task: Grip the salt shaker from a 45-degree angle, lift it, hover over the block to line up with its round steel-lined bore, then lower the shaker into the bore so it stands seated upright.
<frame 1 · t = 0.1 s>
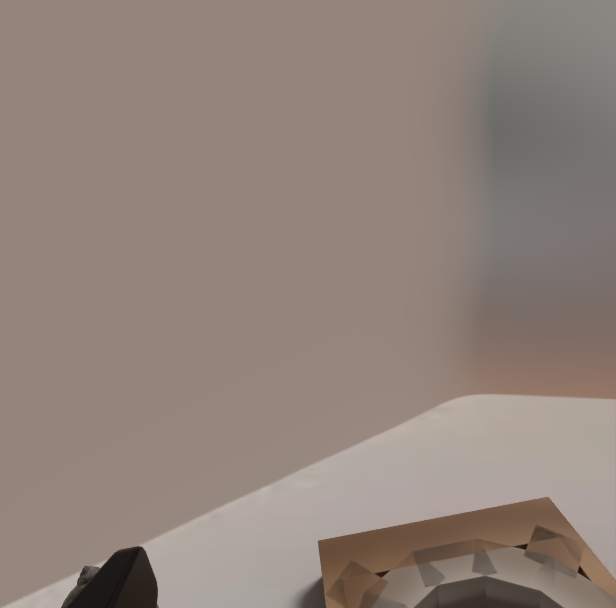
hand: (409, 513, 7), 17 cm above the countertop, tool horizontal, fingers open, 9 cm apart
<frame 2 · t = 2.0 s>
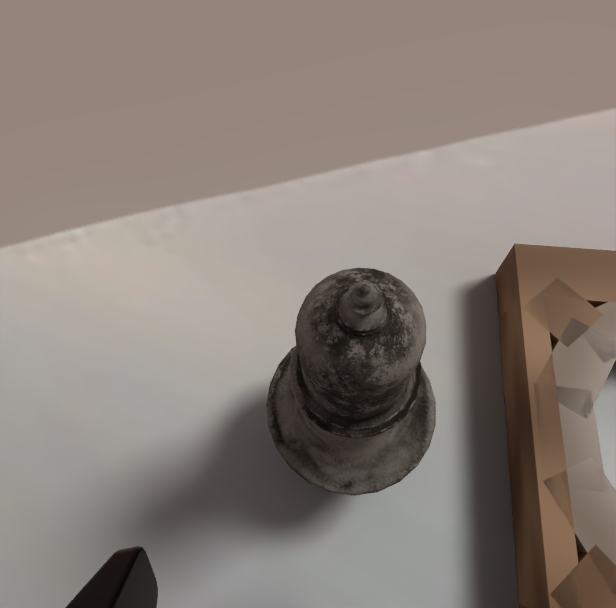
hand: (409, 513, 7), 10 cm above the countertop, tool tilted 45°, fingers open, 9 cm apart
salt shaker: (347, 424, 19), on the countertop
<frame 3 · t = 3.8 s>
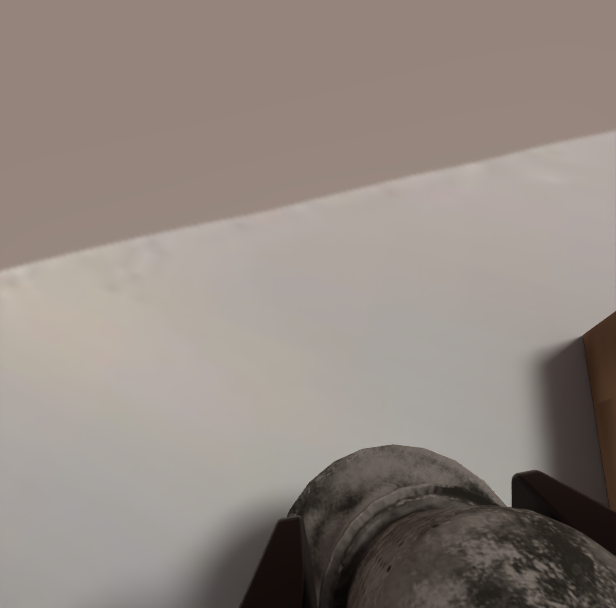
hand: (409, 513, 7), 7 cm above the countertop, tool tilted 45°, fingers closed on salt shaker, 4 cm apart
salt shaker: (386, 567, 13), on the countertop, touching gripper
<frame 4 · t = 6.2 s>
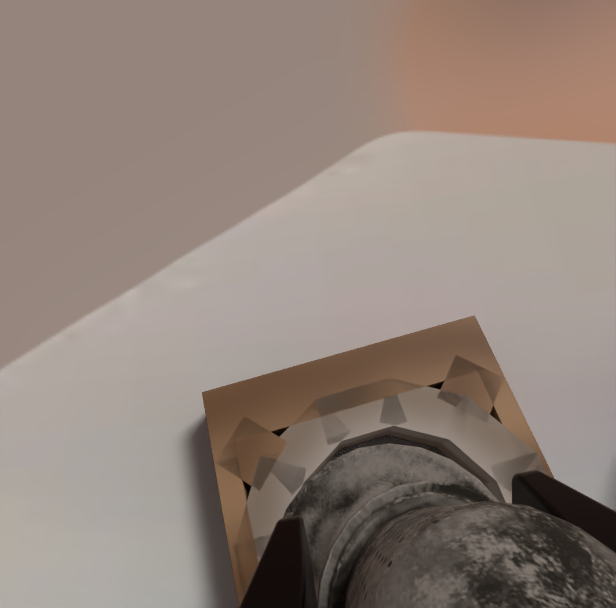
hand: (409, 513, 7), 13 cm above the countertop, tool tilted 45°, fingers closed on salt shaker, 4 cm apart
bore block: (395, 541, 19), on the countertop
salt shaker: (381, 565, 13), point 6 cm above the countertop, touching gripper
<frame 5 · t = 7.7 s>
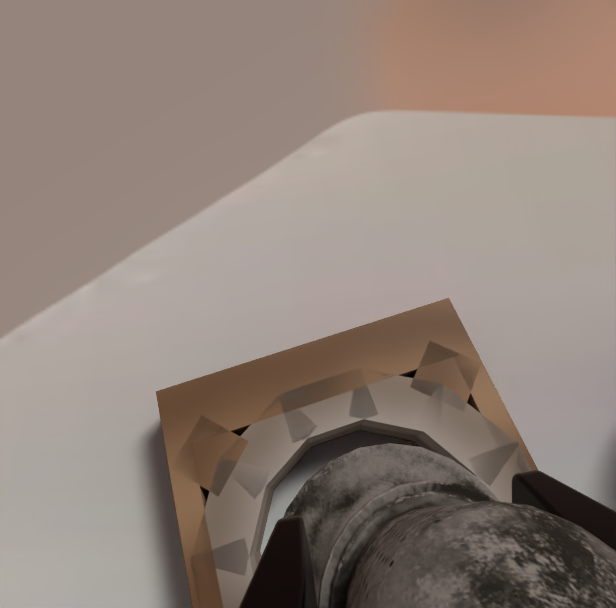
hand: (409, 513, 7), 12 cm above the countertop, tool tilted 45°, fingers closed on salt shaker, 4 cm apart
bore block: (371, 544, 17), on the countertop
salt shaker: (382, 565, 13), point 5 cm above the countertop, touching gripper
when the fingers open (8 cm above the countertop, at t = 8.7 s): salt shaker drops 1 cm, resting in bore block.
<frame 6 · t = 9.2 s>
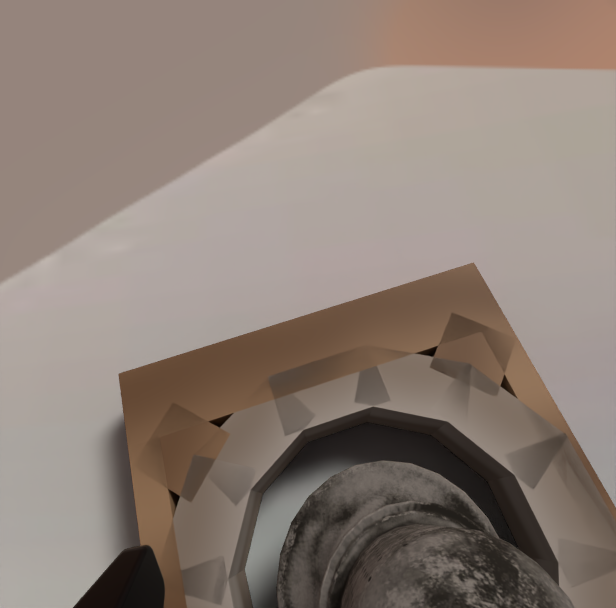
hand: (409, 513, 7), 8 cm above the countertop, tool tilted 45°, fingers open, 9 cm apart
bore block: (382, 562, 14), on the countertop
salt shaker: (380, 569, 14), resting in bore block
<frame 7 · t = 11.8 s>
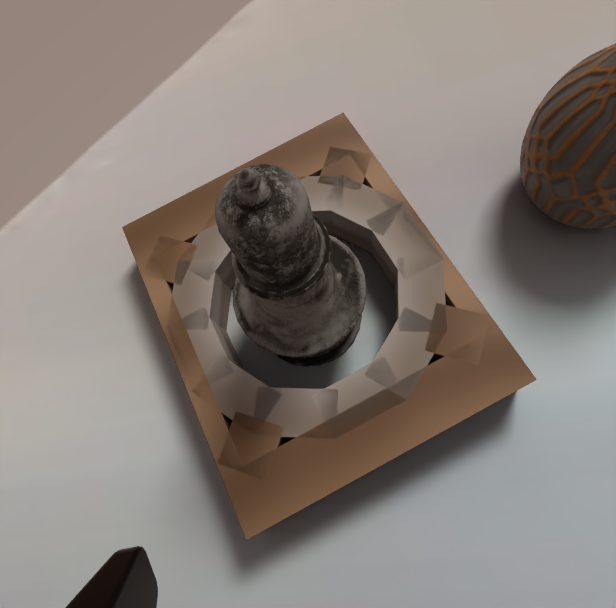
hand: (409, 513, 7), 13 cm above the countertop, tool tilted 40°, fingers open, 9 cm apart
bore block: (309, 310, 22), on the countertop
salt shaker: (309, 316, 22), resting in bore block
vase: (573, 191, 23), on the countertop
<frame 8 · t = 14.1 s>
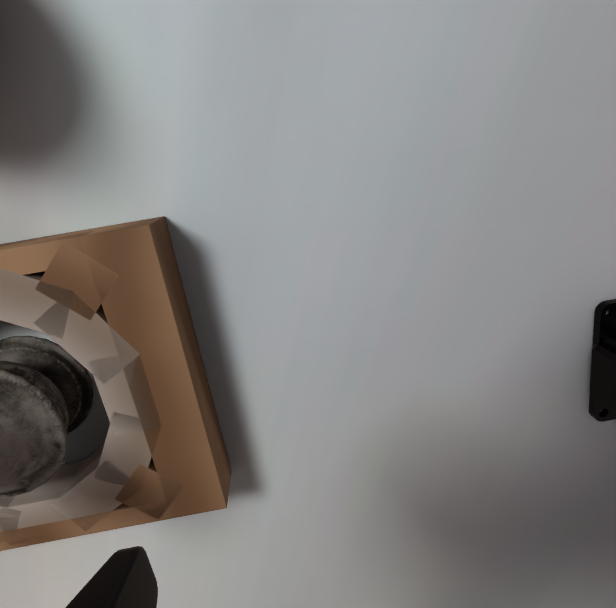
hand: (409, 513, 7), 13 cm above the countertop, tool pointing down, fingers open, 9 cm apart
bore block: (27, 388, 20), on the countertop
salt shaker: (35, 387, 20), resting in bore block
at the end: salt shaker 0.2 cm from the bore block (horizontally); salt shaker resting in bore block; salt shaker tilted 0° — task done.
